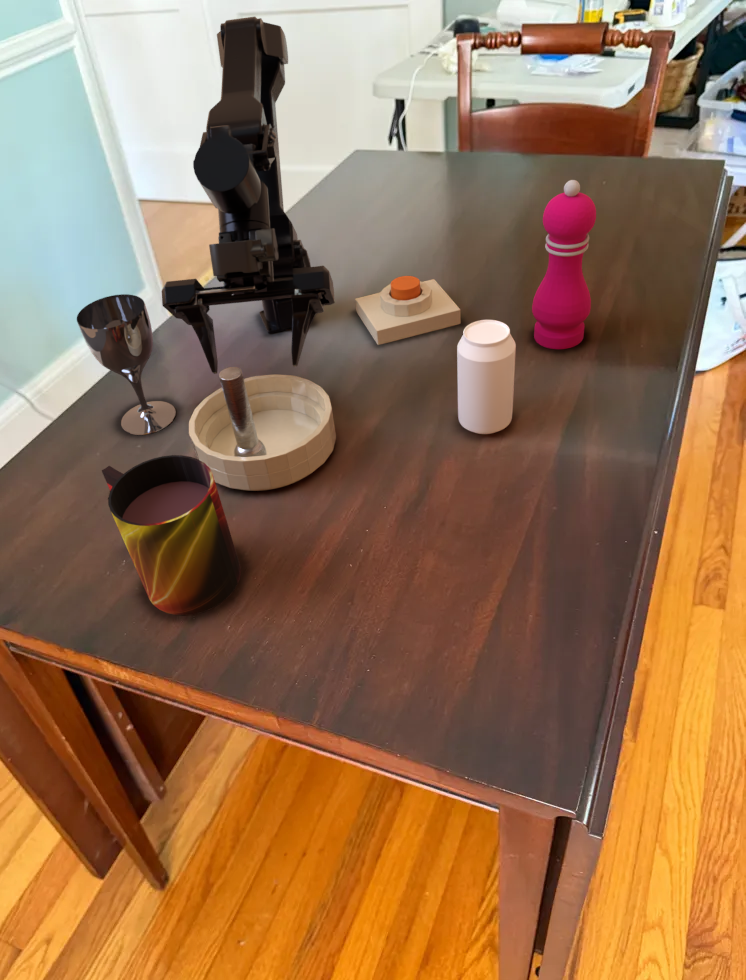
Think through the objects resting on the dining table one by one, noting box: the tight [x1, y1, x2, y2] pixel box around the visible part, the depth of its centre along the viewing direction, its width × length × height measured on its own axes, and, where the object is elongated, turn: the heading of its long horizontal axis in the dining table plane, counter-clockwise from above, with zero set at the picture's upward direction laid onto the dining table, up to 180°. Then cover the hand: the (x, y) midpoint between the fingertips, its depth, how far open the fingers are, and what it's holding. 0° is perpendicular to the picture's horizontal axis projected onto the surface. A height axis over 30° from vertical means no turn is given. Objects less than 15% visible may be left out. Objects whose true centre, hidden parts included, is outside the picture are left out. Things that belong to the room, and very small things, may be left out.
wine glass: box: [76, 293, 177, 436], centre depth 95 cm, size 8×8×15 cm
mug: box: [101, 454, 242, 616], centre depth 75 cm, size 10×14×12 cm
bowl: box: [188, 373, 337, 492], centre depth 91 cm, size 16×17×5 cm
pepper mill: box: [531, 179, 597, 350], centre depth 95 cm, size 7×7×20 cm
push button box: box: [354, 278, 462, 346], centre depth 109 cm, size 10×12×4 cm
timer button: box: [390, 275, 421, 300], centre depth 107 cm, size 4×4×2 cm
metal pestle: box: [218, 366, 267, 457], centre depth 84 cm, size 4×4×12 cm
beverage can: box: [456, 319, 517, 435], centre depth 87 cm, size 6×6×12 cm
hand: (254, 369), depth 88 cm, fingers open, 9 cm apart
